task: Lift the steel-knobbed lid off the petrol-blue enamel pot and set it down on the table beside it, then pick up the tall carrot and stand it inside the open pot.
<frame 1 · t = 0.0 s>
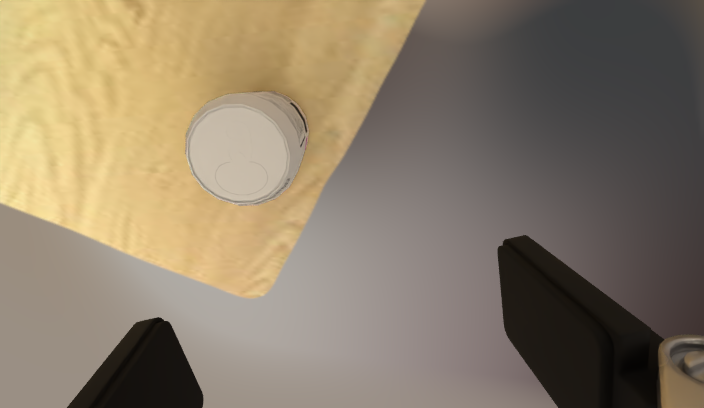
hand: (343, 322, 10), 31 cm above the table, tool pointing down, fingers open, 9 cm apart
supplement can: (271, 130, 39), on the table
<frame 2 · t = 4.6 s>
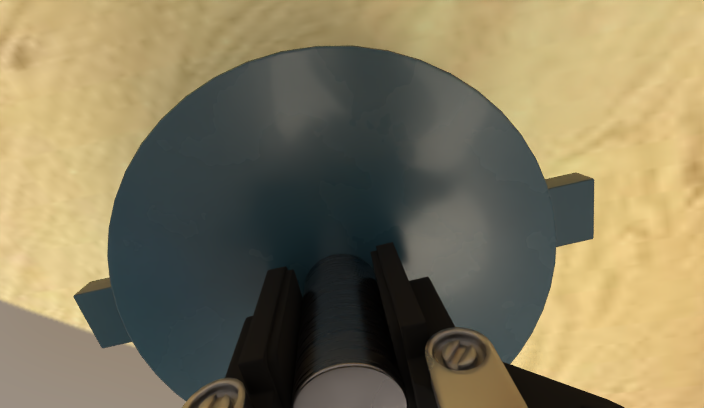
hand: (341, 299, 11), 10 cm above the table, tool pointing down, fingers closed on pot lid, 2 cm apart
pot: (335, 201, 20), on the table
pot lid: (340, 276, 12), point 9 cm above the table, touching gripper, pot
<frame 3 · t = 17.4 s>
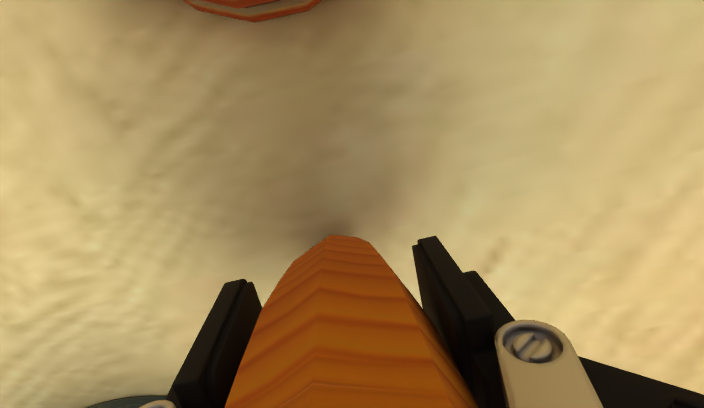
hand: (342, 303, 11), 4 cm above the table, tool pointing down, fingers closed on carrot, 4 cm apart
carrot: (338, 242, 15), on the table, touching gripper
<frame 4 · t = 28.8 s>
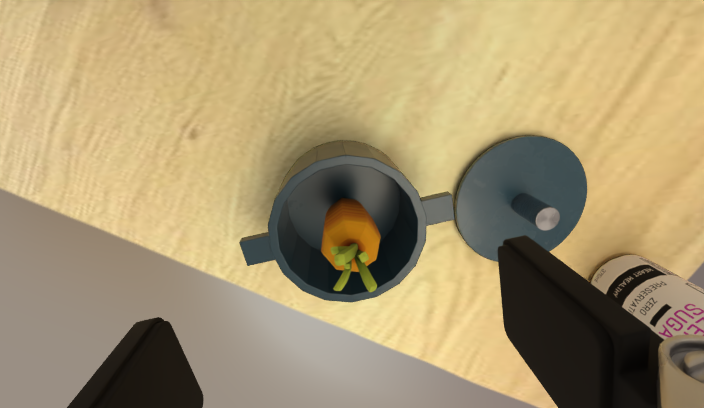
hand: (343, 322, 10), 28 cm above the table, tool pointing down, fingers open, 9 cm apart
carrot: (344, 203, 38), resting on pot
pot: (344, 203, 39), on the table
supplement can: (616, 280, 44), on the table
pot lid: (519, 201, 39), point 1 cm above the table
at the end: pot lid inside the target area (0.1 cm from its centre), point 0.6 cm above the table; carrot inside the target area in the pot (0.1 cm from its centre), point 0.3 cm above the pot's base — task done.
